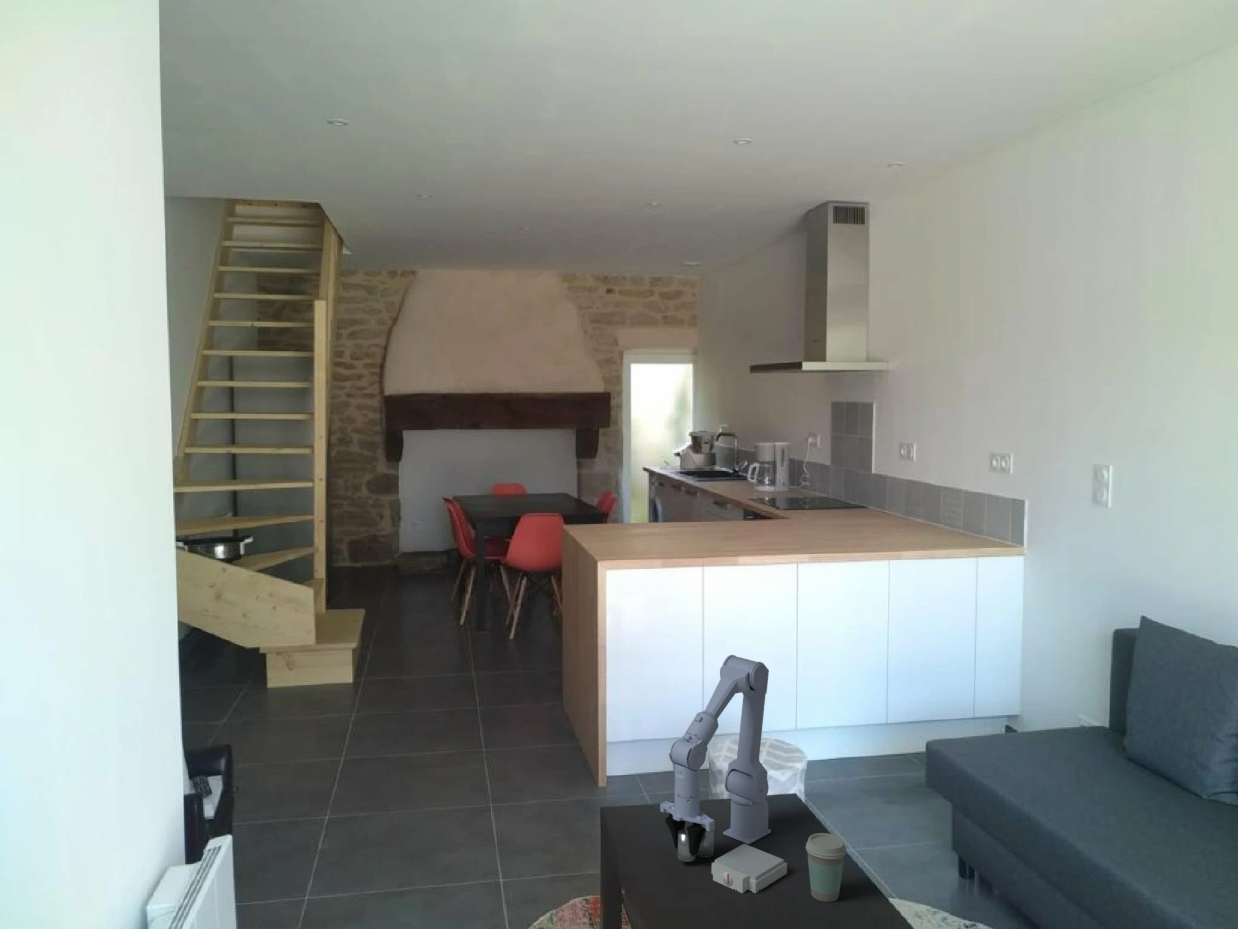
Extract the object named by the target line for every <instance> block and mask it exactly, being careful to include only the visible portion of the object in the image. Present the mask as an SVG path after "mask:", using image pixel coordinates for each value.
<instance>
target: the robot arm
mask: <svg viewBox="0 0 1238 929" xmlns="http://www.w3.org/2000/svg"><path fill="white" fill-rule="evenodd" d="M769 673H770V670H769V668H768V667H767V665H765V663H763V662H761V661H755V660H751V659H749V658H744V657H739V656H737V655H734V654H731V655H728V656H726V657H725V659H724V661H723V663H722V666H721V667H720V668H719V677H720V678H719V681H718V683H717V685H716V687H715V689H714V692H713V693H712V696H711V697H710V699H709V701H708V704H707V705H706V707H705V709H704V710H703V711H699V712H697V713H696V715H695V717H694V718H693V720H692V721H691V723H690V724H689V726H688V728H687V729H686V731H685V733H684V734H683V736H682V738H679V739H677V740H676V741H674V742H673V743H672V744H671V747H670V752H669V753H668V756H669V761H670V762H671V763H672V770H673V772H674V802H671V801H670V802H669V801H668V800H665V801H663V802H661V803H660V805H659V807H660V808H659V811H660V812H661V813H668V816H667V817H666V818H665V819H664V820H665V821H664V822H665V824H666V825H667V827H668V829H669V831H670V834H671V837H672V841H673V845H674V848H675V850H678V830H680V829H682V828H686V830H687V832H688V836H689V841H690V855H692V856H694V855H695V856H696V855H697V854H698V852H699V848H700V844H701V841H702V838H703V836H704V834H705V832H706V830H707V831H711V830H713V829H714V830H715V822H716V820H714V819H713V818H711V817H709V816H708V815H706V814H705V813H704V812H702V811H701V810H700V802H701V801H700V799H701V797H700V795H701V794H700V793H701V791H700V786H701V782H700V781H701V767H702V766H703V765H704V764H705V761H706V757H707V752H708V745H709V743H710V742H711V740H712V738H713V737H714V735H715V734H716V732H717V730H718V728H719V721H718V718H719V717H720V716H721V715H722V713H723V712H724V710H725V709H726V708H727V706H728V705H729V703H730V702H731V701H732V700H733V698H734V697H735V695H736V694H740V693H741V694H742V695H743V696H742V706H741V716H740V724H739V725H740V726H739V736H738V746H737V756H736V758H735V759H733V760H731V761H730V762H729V763H728V765H727V771H726V773H725V777H724V778H723V779H724V780H723V781H724V782H723V784H724V789H725V792H727V793H728V798H730V827H729V828H727V829H726V830H724V831H723V832H722V834H723V835H724V836H726V837H729V838H731V839H734V840H737V841H739V842H741V843H743V844H746V845H751V844H753V843H754V842H756V841H758V840H760V839H761V838H763V837H765V836H767V835H768V834H770V833H771V832H772V830H771V829H769V803H768V801H767V799H766V798H767V796H768V793H769V781H768V771H767V769H766V768H765V766H764V765H763V764H762V762H761V761H760V753H761V743H762V735H763V734H762V733H763V726H764V725H763V724H764V715H765V705H766V702H765V701H766V695H767V692H768V685H769V684H768V683H769ZM686 822H690V823H691V824H690V825H688V826H687V827H685V826H686Z"/></svg>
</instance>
